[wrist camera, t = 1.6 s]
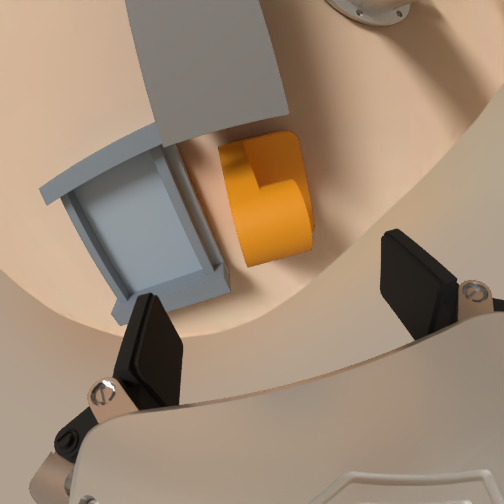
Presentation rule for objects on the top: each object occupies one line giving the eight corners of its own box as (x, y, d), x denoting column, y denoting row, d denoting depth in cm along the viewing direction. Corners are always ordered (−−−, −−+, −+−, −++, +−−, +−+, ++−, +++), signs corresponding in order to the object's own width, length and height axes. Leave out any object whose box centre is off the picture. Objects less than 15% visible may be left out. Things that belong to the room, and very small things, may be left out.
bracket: (308, 223, 31) (352, 284, 21) (245, 240, 31) (260, 310, 21) (289, 128, 26) (336, 139, 15) (218, 145, 26) (217, 167, 16)
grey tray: (166, 119, 24) (157, 120, 20) (229, 271, 33) (230, 292, 29) (58, 178, 25) (38, 188, 21) (128, 304, 33) (120, 325, 30)
